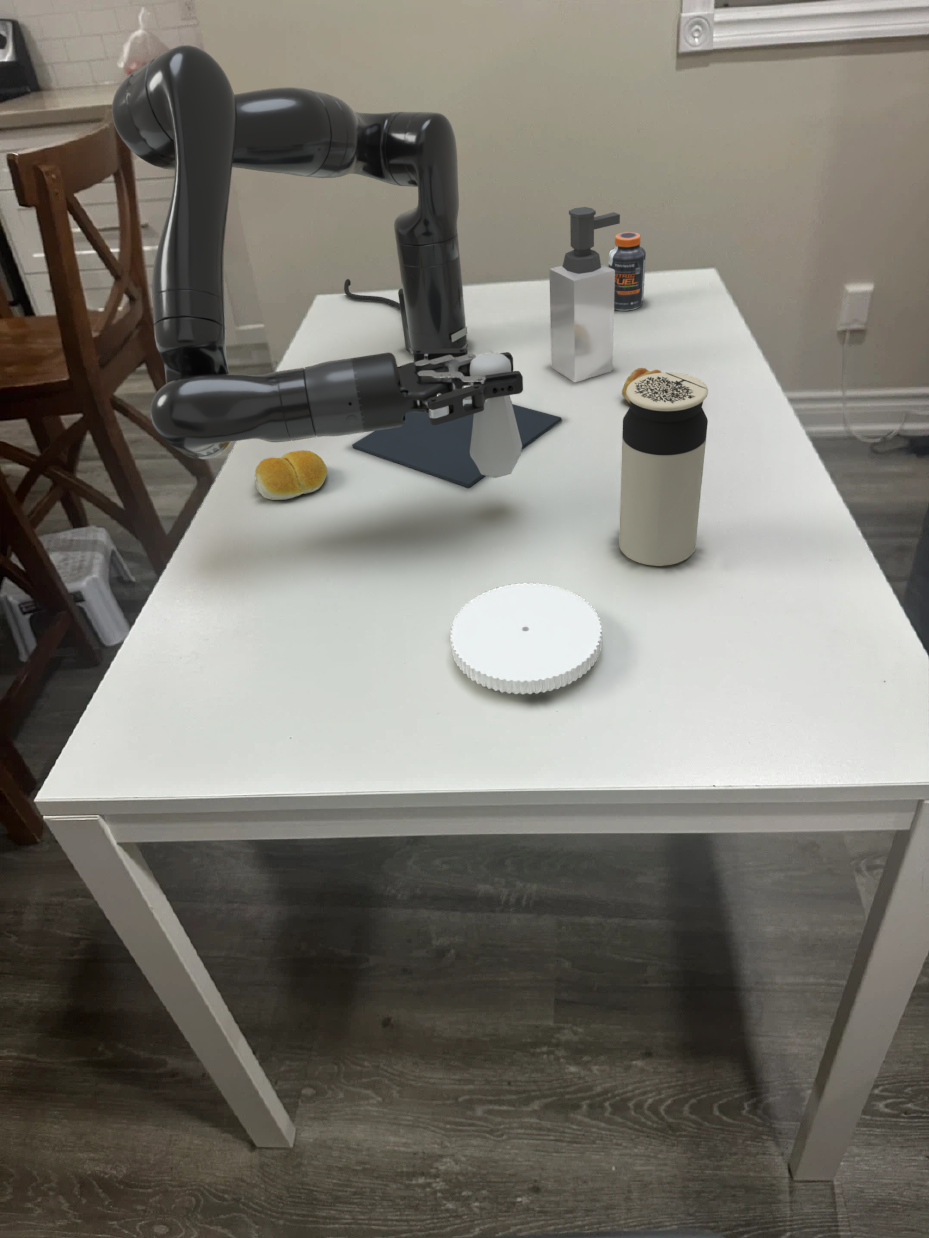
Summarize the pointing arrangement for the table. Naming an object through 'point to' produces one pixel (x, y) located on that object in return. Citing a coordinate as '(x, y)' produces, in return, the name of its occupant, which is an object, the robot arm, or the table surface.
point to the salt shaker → (494, 424)
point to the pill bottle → (628, 271)
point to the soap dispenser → (583, 302)
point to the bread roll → (290, 475)
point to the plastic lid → (526, 638)
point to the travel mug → (662, 467)
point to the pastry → (634, 376)
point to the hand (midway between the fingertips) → (516, 372)
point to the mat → (445, 443)
